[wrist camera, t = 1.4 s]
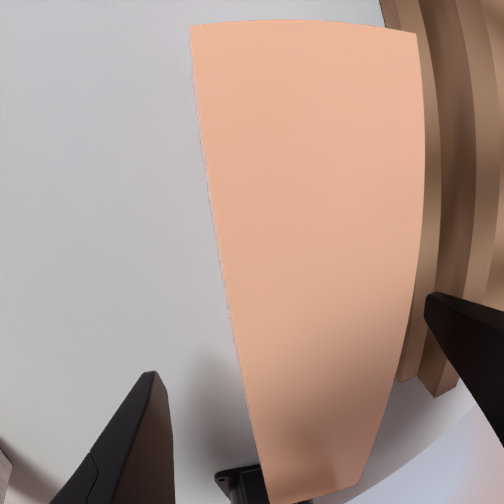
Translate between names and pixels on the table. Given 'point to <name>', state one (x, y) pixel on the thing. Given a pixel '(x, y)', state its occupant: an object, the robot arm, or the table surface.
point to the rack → (456, 167)
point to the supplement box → (4, 475)
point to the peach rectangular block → (313, 229)
